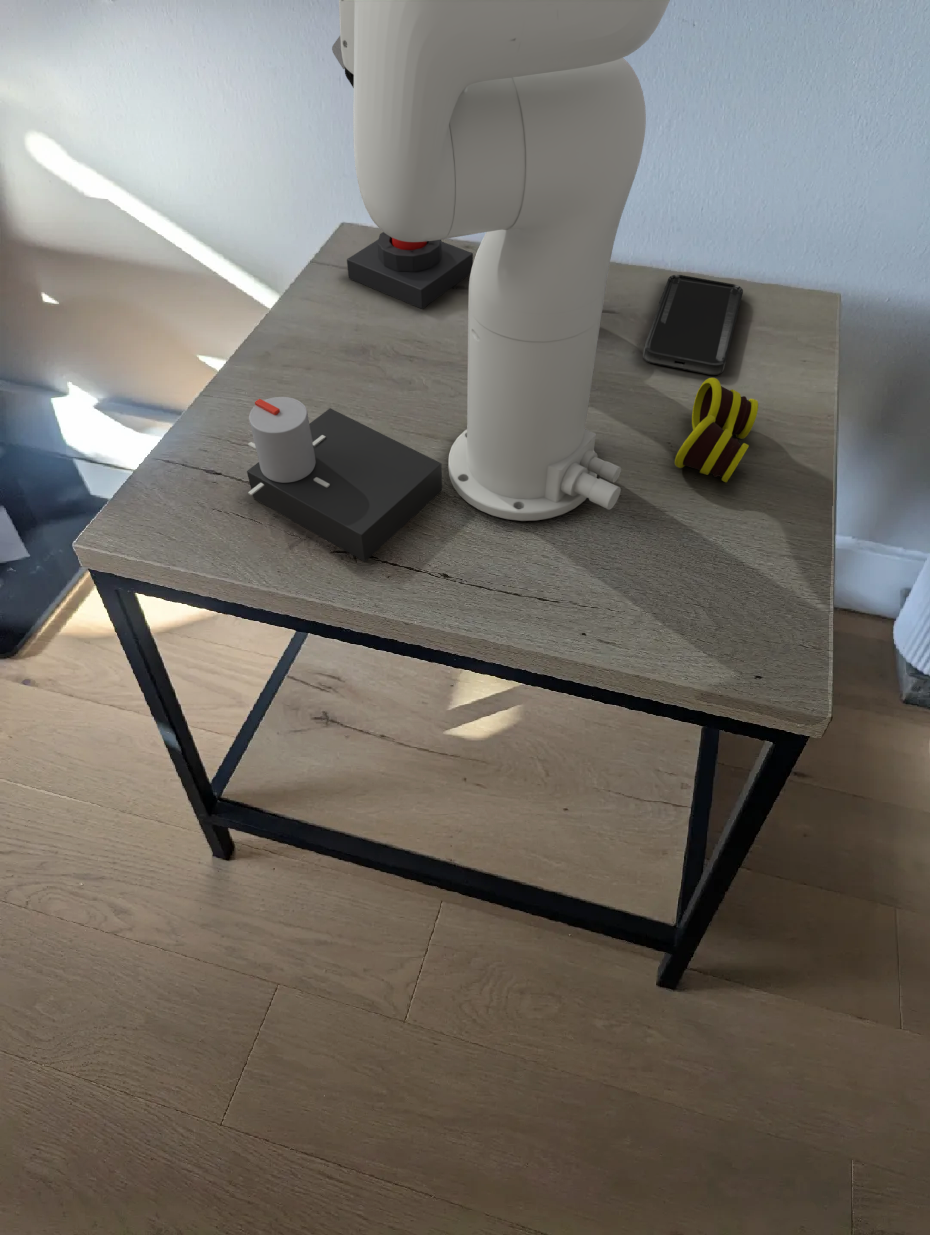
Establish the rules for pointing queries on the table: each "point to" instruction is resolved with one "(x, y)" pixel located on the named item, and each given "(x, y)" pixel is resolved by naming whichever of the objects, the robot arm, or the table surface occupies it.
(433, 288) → the grey button base
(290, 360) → the table surface
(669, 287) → the phone
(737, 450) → the opera glasses
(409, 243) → the power button
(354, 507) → the panel
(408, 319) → the table surface
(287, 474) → the knob
